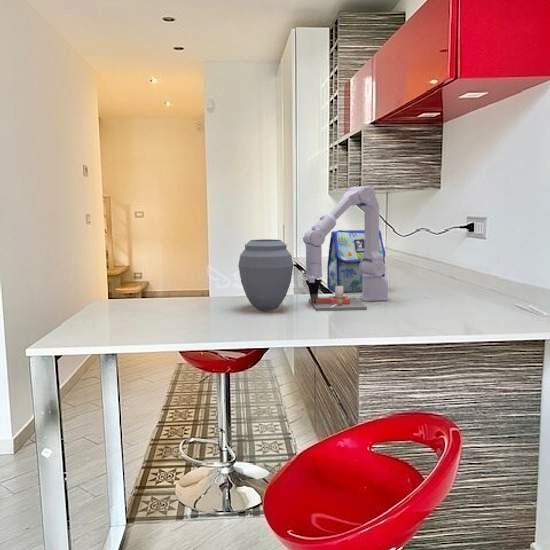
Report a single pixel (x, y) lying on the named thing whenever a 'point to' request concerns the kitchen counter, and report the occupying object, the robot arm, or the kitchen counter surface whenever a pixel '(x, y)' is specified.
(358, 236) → the lunch bag
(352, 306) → the station
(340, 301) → the tan tapered cylinder
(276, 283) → the vase
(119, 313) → the kitchen counter surface
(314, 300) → the square frame with handle
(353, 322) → the kitchen counter surface
